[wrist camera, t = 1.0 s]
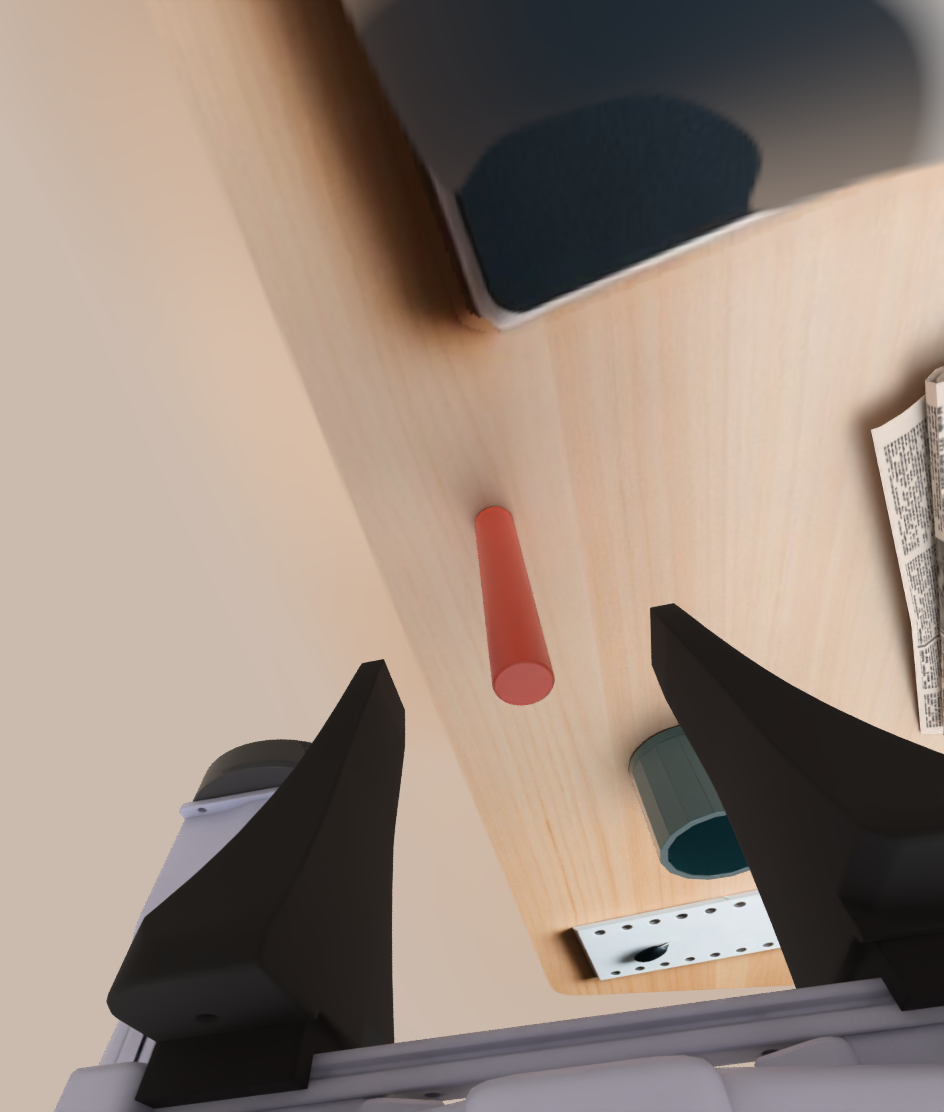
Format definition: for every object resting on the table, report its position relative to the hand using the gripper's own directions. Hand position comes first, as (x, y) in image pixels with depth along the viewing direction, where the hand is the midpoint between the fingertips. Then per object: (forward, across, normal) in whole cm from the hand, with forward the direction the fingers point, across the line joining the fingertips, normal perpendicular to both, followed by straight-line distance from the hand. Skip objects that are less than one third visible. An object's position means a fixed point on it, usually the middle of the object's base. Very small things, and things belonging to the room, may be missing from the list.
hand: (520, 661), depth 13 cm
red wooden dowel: (+8, 0, 0) cm, 8 cm away
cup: (+8, -8, +18) cm, 21 cm away
